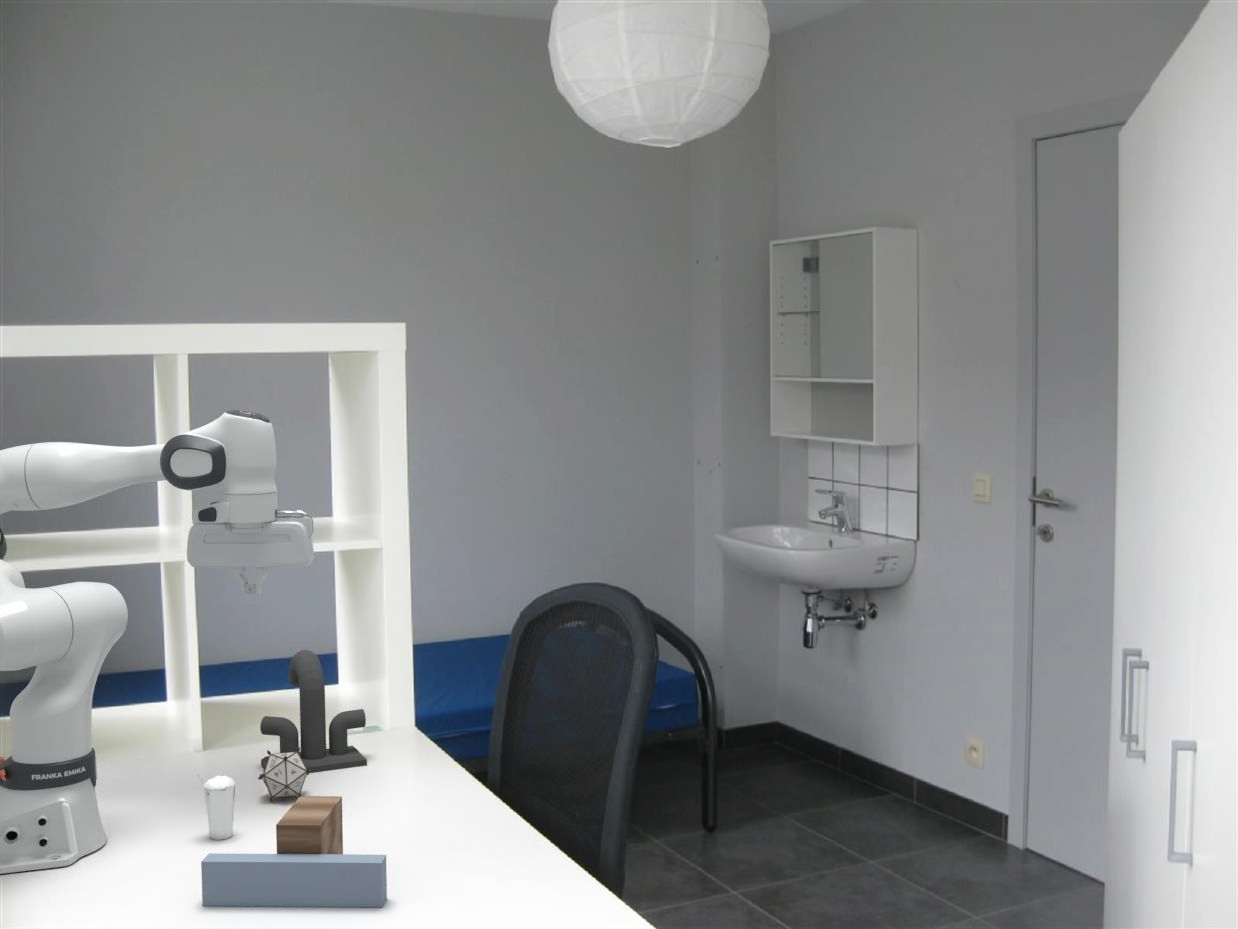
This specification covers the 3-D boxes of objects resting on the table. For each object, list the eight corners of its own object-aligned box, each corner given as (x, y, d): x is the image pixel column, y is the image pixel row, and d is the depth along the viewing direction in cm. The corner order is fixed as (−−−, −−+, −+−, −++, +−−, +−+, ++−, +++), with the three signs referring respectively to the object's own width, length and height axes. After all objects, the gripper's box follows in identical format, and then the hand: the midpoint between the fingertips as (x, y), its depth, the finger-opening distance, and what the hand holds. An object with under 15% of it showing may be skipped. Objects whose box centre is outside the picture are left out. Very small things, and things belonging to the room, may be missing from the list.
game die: (291, 823, 221) (293, 786, 215) (246, 802, 223) (247, 765, 216) (320, 783, 228) (322, 747, 222) (276, 763, 230) (277, 726, 223)
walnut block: (322, 897, 181) (320, 825, 180) (277, 897, 181) (276, 825, 180) (343, 864, 193) (341, 796, 192) (301, 864, 193) (300, 796, 192)
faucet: (348, 743, 255) (346, 639, 253) (370, 765, 241) (368, 655, 239) (251, 755, 247) (248, 648, 246) (267, 779, 233) (264, 665, 232)
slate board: (386, 898, 180) (386, 854, 180) (382, 907, 177) (381, 863, 177) (210, 897, 181) (208, 853, 181) (202, 905, 178) (201, 861, 178)
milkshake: (199, 834, 206) (197, 770, 205) (235, 829, 207) (233, 766, 207) (200, 844, 201) (198, 778, 201) (238, 839, 203) (235, 774, 202)
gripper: (317, 508, 222) (319, 591, 223) (195, 507, 223) (198, 590, 224) (307, 512, 216) (309, 597, 217) (182, 512, 217) (184, 597, 218)
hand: (251, 594), depth 221 cm, fingers closed
